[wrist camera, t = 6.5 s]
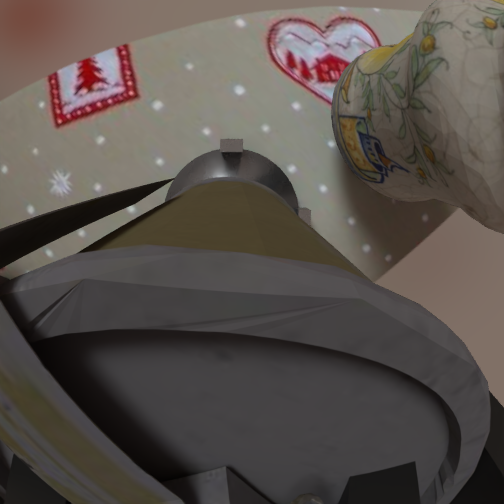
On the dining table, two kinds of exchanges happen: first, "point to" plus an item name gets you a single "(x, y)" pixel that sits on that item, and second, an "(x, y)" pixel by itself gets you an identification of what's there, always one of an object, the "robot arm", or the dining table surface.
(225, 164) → the flange
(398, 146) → the vase
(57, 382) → the canister
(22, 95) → the dining table surface
